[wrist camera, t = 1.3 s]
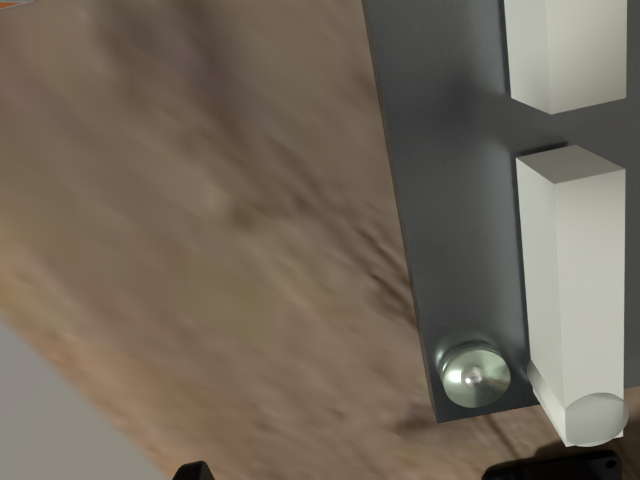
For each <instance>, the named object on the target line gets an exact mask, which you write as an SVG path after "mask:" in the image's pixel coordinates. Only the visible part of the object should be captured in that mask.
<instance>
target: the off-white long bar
mask: <svg viewBox="0 0 640 480" xmlns="http://www.w3.org/2000/svg"><path fill="white" fill-rule="evenodd" d="M504 6H505V19H506V32H507V46H508V59H509V73H510V86H511V98H512V99H515V100H517V101H520V102H522V103H524V104H527V105H529V106H532V107H534V108H536V109H539V110H541V111H544V112H546V113H548V114H556V113H560V112H565V111H569V110H574V109H579V108H583V107H588V106H592V105H597V104H601V103H606V102H610V101H615V100H619V99H624V98H626V56H627V0H504Z"/></svg>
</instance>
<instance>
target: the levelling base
mask: <svg viewBox="0 0 640 480" xmlns="http://www.w3.org/2000/svg"><path fill="white" fill-rule="evenodd" d="M362 5H363V11H364V17H365V23H366V28H367V34H368V40H369V46H370V52H371V58H372V63H373V69H374V75H375V81H376V87H377V93H378V98H379V104H380V110H381V116H382V122H383V128H384V133H385V139H386V145H387V151H388V157H389V163H390V168H391V174H392V180H393V186H394V192H395V198H396V203H397V209H398V215H399V221H400V227H401V233H402V238H403V244H404V250H405V256H406V262H407V268H408V273H409V279H410V285H411V291H412V297H413V303H414V308H415V314H416V320H417V326H418V332H419V338H420V343H421V349H422V355H423V361H424V367H425V373H426V378H427V384H428V390H429V396H430V401H431V404H432V407H433V410H434V413H435V416H436V420H437V423H442V422H448V421H453V420H458V419H464V418H469V417H475V416H480V415H485V414H491V413H496V412H501V411H507V410H512V409H517V408H523V407H528V406H533V405H539V404H540V402H539V401H538V399H537V397H536V396H535V394H534V392H533V386H532V385H531V383H530V381H529V379H528V377H527V366H528V363H529V361H530V359H531V355H530V341H529V328H528V314H527V301H526V288H525V274H524V261H523V247H522V234H521V220H520V207H519V194H518V180H517V167H516V158H517V157H521V156H526V155H530V154H535V153H540V152H544V151H549V150H554V149H558V148H563V147H567V146H572V145H577V146H579V147H582V148H584V149H586V150H588V151H590V152H592V153H594V154H596V155H598V156H600V157H602V158H604V159H606V160H608V161H610V162H612V163H614V164H616V165H618V166H620V167H622V168H624V169H625V272H624V380H623V389H625V388H630V387H635V386H640V0H627V56H626V98H624V99H619V100H615V101H610V102H606V103H601V104H597V105H592V106H588V107H583V108H579V109H574V110H569V111H565V112H560V113H556V114H548V113H546V112H544V111H541V110H539V109H536V108H534V107H532V106H529V105H527V104H524V103H522V102H520V101H517V100H515V99H512V98H511V86H510V73H509V59H508V46H507V32H506V19H505V6H504V0H362Z"/></svg>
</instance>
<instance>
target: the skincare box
mask: <svg viewBox="0 0 640 480" xmlns="http://www.w3.org/2000/svg"><path fill="white" fill-rule="evenodd" d="M33 1H36V0H0V10H1V9H5V8H9V7H13V6H17V5H21V4H25V3H29V2H33Z"/></svg>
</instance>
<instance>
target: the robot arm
mask: <svg viewBox="0 0 640 480" xmlns="http://www.w3.org/2000/svg"><path fill="white" fill-rule="evenodd" d="M172 480H215V479H214V477H213V475H212V473H211V471H210V469H209V467H208V465H207V464H206V462H204V461H197V462H193V463H188V464H184V465H182V466H181V467H180V468H179V469H178V470H177V472H176V474H175V476H174V477H173V479H172ZM481 480H622V462H621V459H620V458H619V456H618V455H617V454H616V452H614V451H612V450H604V451H599V452H593V453H588V454H582V455H577V456H571V457H565V458H560V459H554V460H549V461H543V462H538V463H532V464H527V465H521V466H515V467H510V468H504V469H499V470H493V471H489V472H486V473H485V474H484V475H483V476H482V479H481Z"/></svg>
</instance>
